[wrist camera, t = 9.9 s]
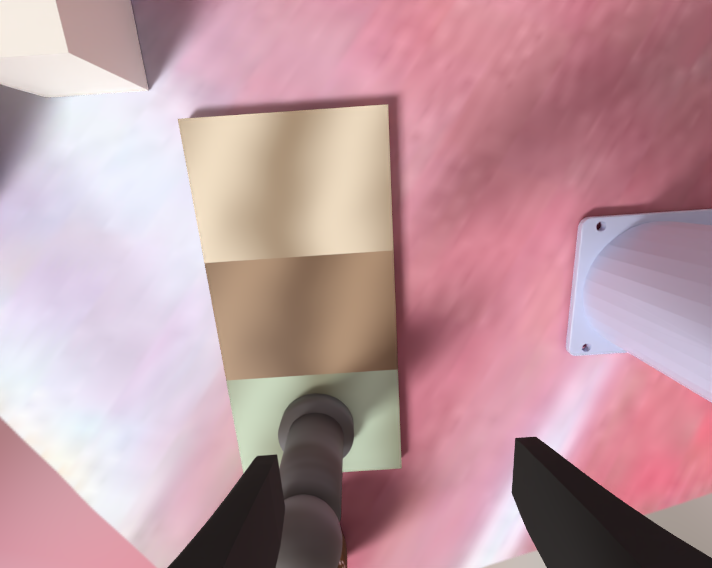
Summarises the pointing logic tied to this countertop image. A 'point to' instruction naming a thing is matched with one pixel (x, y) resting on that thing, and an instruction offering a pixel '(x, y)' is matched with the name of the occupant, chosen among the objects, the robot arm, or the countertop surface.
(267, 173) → the board
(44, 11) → the die
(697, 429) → the countertop surface
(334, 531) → the pawn
